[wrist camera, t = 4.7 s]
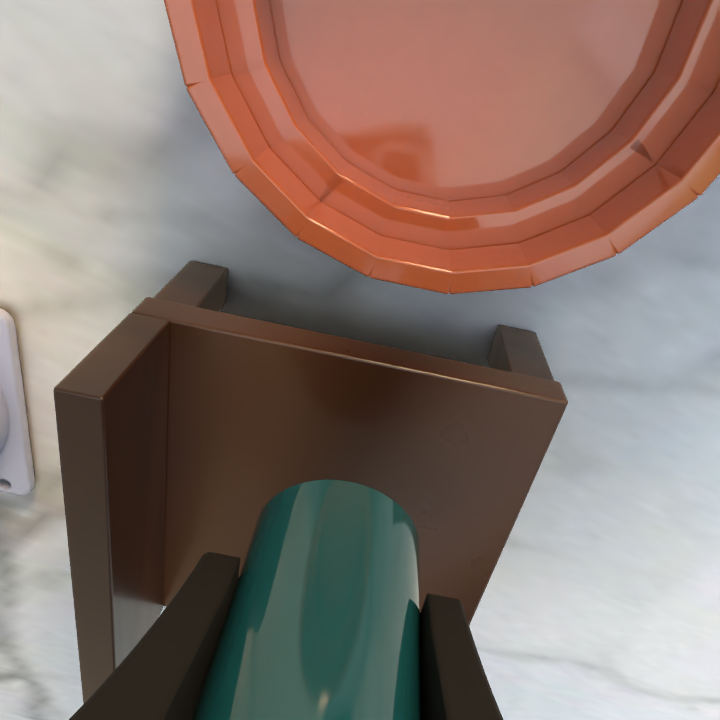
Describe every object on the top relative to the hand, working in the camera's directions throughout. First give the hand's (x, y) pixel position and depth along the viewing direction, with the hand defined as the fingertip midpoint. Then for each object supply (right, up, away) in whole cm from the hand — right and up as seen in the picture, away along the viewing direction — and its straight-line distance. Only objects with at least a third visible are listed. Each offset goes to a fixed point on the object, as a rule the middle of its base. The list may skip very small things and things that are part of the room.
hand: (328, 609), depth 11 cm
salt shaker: (0, +1, +2) cm, 2 cm away
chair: (0, +2, +9) cm, 10 cm away
